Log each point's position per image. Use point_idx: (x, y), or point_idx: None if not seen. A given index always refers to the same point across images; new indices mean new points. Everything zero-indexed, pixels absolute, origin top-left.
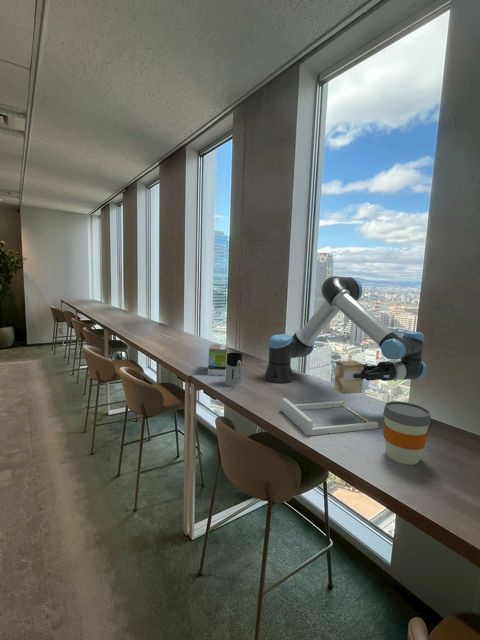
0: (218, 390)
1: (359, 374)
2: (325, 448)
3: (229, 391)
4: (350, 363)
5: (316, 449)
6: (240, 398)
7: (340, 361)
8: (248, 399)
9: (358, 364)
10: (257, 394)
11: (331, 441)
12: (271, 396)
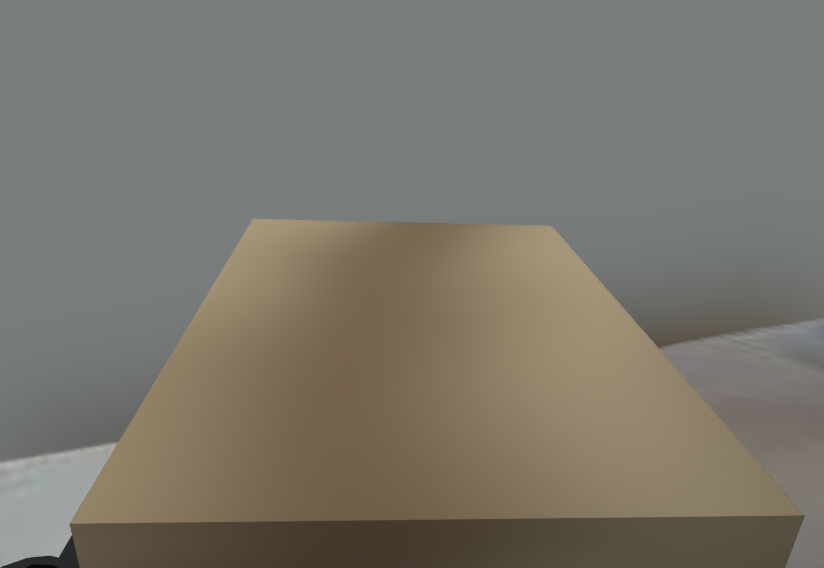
0: (784, 331)
1: (72, 539)
2: (29, 493)
3: (793, 356)
4: (326, 285)
5: (55, 457)
6: (701, 370)
7: (516, 243)
8: (699, 390)
9: (167, 365)
10: (816, 439)
11: (59, 555)
12: (819, 495)
